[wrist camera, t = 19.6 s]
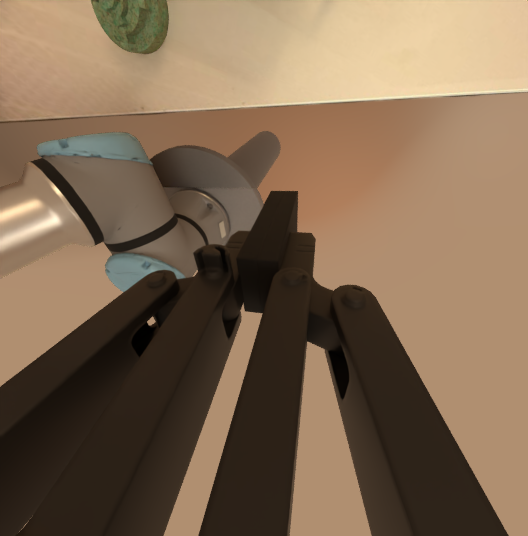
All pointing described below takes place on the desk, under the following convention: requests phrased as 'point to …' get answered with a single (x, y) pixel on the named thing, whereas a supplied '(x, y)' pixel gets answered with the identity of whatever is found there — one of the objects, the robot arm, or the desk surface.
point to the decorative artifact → (134, 23)
